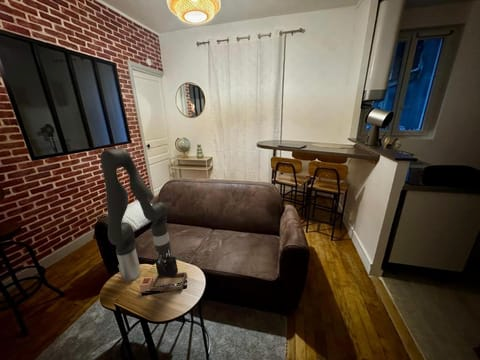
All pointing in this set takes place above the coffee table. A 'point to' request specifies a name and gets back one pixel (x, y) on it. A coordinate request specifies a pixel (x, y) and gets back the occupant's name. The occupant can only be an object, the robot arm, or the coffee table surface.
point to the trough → (169, 282)
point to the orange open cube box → (146, 284)
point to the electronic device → (168, 267)
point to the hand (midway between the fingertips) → (167, 268)
